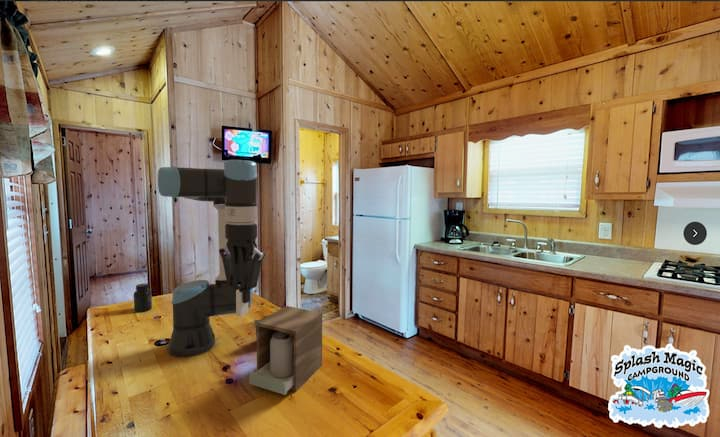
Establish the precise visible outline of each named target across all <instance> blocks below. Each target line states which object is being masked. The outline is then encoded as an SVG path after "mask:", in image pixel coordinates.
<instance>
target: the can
mask: <svg viewBox="0 0 720 437" xmlns="http://www.w3.org/2000/svg"><path fill="white" fill-rule="evenodd" d="M293 372H294V336H293V334H291V333H286V332H282V331H279V332H276V333H274V334H273V336H272V339H271V340H270V373H271V374H272V375H273V376H275V377H277V378H286V377H288V376H290V375H291V374H292V373H293Z"/></svg>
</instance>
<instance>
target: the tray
mask: <svg viewBox="0 0 720 437" xmlns="http://www.w3.org/2000/svg"><path fill="white" fill-rule="evenodd" d="M248 380H249V385H253V386H255V387H258V388H262V389H264V390H267V391H271V392H274V393H278V394H281V395H284V396H286V395H287V394H288V391H290V390H289V389H290V388H291V387H292V386H293V385H294V372H293V373H292V374H291V375H290V376H288V377H286V378H277V377H275V376H273V375H272V374H271V373H270V362H268V363H267V364H266V365H264V366H263V367H262V368H260V369H259V370H258V371H257V370H256V371H250V372H248Z"/></svg>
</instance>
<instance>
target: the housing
mask: <svg viewBox="0 0 720 437" xmlns="http://www.w3.org/2000/svg"><path fill="white" fill-rule="evenodd" d="M266 316H267V317H266ZM266 316H265V317H266V318H264V317H263V318H264V319H263V318H261V319H262V320H261V319H259V320H260V321H258V322H257V338H256V372H257V371H258V370H259V369H260V368H262V367H263V366H264V365H266V364H267V363H268V362H270V340H271V339H272V336H273V334H274V333H276V332H279V331H282V332H286V333H291V334H293V336H294V385H293V386H292V387H291V388H290V389H289V390H288V391H292V392H297V391H298V390H300V388H301V387H302V386H304V385H305V383H306V382H307V381H308V380H309V379H310V378H311V377H312V376H313V375H315V373H316V372H317V371H319V369H320V368H322V366H323V312H320V311H314V310H311V309H310V310H309V309H304V308H300V307H299V308H298V307H294V306H289V305H285V306H284V307H281V308H280V309H277V310H276V311H275V312H272V313H271V314H269V316H268V315H266Z"/></svg>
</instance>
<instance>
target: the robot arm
mask: <svg viewBox="0 0 720 437" xmlns="http://www.w3.org/2000/svg"><path fill="white" fill-rule="evenodd" d="M223 165H224V167H223V168H224V169H223V168H220V169H219V168H198V167H197V168H196V167H178V166H162V167H160V168H159V169H158V171H157V189H158V193H159V195H160V196H161V197H168V198H183V199H188V200H193V201H199V202H212V203H213V207H214V208H215V210H216V211H217V225H218V226H217V227H218V229H217V230H218V259H219V260H218V261H219V262H218V266H219V274H218V275H217V276H216V278H215V280H214V281H215V282H214V283H210V281H208V280H206V279H199V280H197V279H196V280H191V281H188V282H185V283H182V284H180V285H178V286H176V287H175V288H174V289H173V290H172V300H171V304H172V327H173V328H172V329H173V330H172V332H171V335H170V340H169V342H168V344H167V349H168V350H167V351H168V354H169V355H171V356H174V357H181V358H183V357H184V358H185V357H190V356H191V357H192V356H195V355H200V354H202V353H205V352H206V351H207V352H208V351H209V350H210V349H212V348H213V347H215V345H216V335H215V333H214V330H213V328H212V325H211V323H210V319H211V318H210V317H217V316H223V315H230V314H236V315H235V316H237V317H242V316H245V315H247V314H249V309H250V308H251V304H252V300H253V292H254V291H253V289H254V288H257V287H258V284H259V283H258V282H259V278H260V277H259V276H260V272H261V269H262V268H261V267H262V263H263V260H264V258H265V256H266V252H265V251H260V250H259V249H258V244H257V242H256V240H257V238H258V224H257V223H256V222H258V201H257V200H258V197H257V196H258V177H259V176H258V173H257V172H258V170H257V169H258V167H257V164H256V162H255V161H252V160H247V159H246V160H245V159H244V160H243V159H228V160H225V161H224V164H223Z"/></svg>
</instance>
